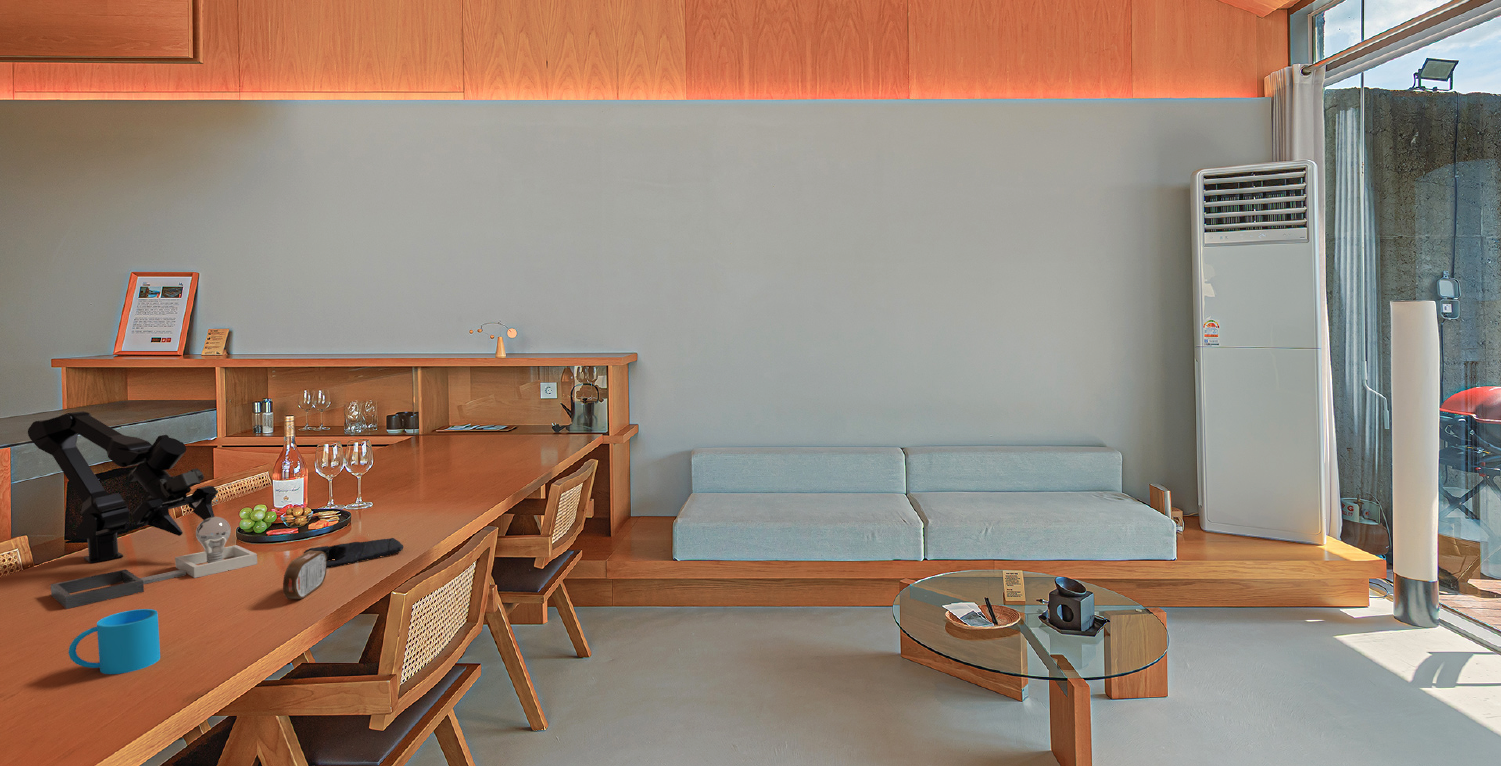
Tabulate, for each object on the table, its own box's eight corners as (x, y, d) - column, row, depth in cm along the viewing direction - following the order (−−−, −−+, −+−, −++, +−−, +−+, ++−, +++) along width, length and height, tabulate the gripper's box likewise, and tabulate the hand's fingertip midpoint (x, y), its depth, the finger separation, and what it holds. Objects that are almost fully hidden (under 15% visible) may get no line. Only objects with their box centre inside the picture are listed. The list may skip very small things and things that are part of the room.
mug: (161, 650, 140) (158, 605, 139) (159, 666, 133) (156, 619, 133) (73, 667, 133) (70, 620, 132) (66, 685, 126) (62, 635, 126)
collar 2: (175, 567, 188) (175, 557, 188) (237, 554, 198) (236, 544, 198) (194, 577, 180) (193, 567, 180) (257, 564, 190) (256, 554, 190)
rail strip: (134, 582, 177) (134, 579, 177) (181, 572, 184) (181, 569, 184) (138, 585, 175) (138, 581, 175) (186, 575, 182) (185, 571, 182)
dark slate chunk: (408, 557, 196) (407, 538, 196) (308, 573, 184) (307, 554, 183) (396, 543, 209) (395, 526, 208) (301, 558, 196) (300, 539, 196)
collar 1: (51, 595, 168) (50, 584, 168) (126, 579, 179) (125, 569, 178) (66, 608, 160) (65, 596, 160) (143, 591, 171) (143, 580, 170)
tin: (316, 581, 177) (314, 545, 176) (330, 581, 177) (328, 544, 176) (282, 605, 162) (280, 565, 161) (298, 605, 162) (296, 565, 161)
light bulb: (231, 567, 187) (228, 518, 187) (195, 571, 184) (193, 521, 183) (233, 560, 193) (231, 512, 193) (199, 564, 190) (197, 515, 189)
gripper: (139, 467, 180) (182, 517, 178) (209, 453, 198) (249, 498, 197) (113, 499, 182) (155, 548, 181) (185, 483, 200) (224, 527, 199)
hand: (198, 529), depth 189 cm, fingers open, 9 cm apart
